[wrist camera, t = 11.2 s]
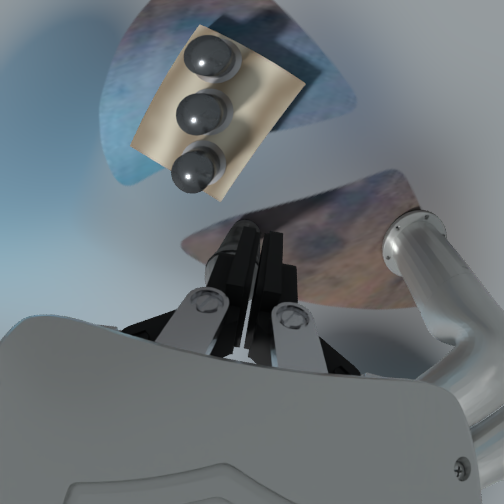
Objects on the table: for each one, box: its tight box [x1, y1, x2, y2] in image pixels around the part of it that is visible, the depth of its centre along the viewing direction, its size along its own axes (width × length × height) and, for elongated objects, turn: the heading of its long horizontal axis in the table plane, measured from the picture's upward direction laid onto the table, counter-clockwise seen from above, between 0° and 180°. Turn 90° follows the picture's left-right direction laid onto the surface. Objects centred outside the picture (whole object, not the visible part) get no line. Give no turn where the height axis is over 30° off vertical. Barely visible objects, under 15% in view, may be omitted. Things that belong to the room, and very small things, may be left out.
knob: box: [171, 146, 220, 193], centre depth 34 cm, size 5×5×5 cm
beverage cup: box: [205, 220, 260, 300], centre depth 36 cm, size 7×7×20 cm
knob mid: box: [176, 93, 227, 136], centre depth 30 cm, size 5×5×5 cm
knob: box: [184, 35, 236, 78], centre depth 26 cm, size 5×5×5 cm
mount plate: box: [130, 25, 305, 202], centre depth 34 cm, size 16×20×3 cm
